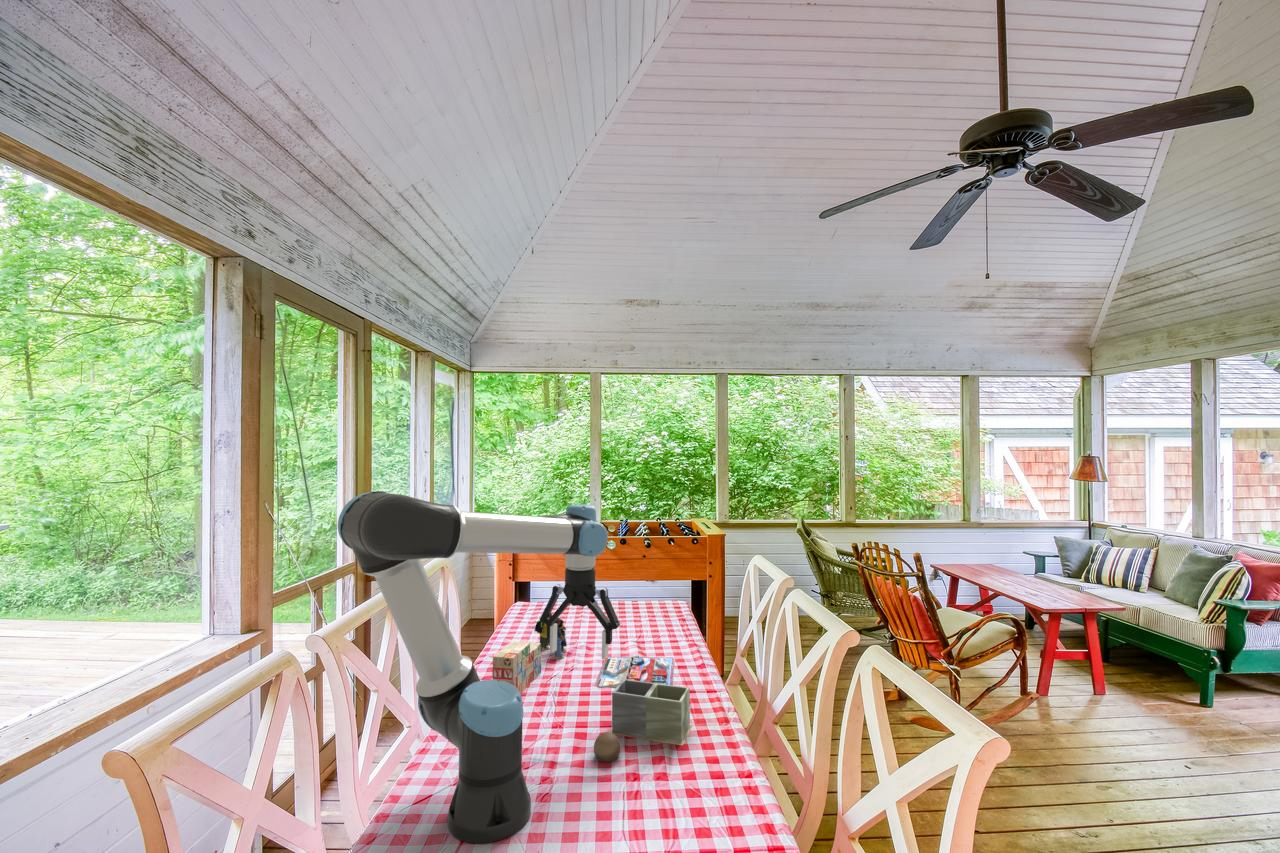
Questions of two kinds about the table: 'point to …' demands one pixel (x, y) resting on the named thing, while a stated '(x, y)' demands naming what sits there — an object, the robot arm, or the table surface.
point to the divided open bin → (651, 711)
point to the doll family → (545, 641)
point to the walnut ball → (607, 747)
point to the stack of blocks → (517, 664)
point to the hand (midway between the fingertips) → (578, 654)
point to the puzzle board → (635, 670)
